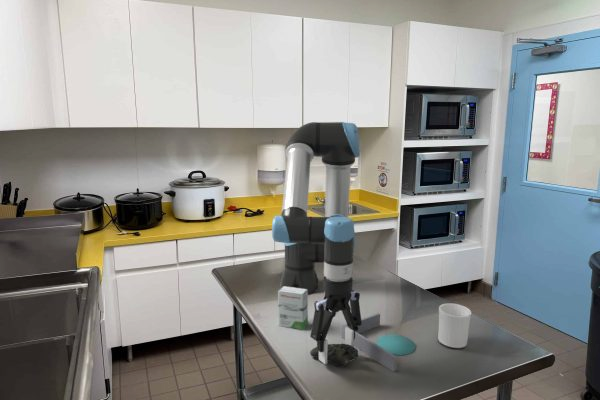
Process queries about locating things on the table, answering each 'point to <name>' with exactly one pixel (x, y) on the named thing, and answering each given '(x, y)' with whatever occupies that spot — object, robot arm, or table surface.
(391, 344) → the teal mat
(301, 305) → the ink box
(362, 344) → the grey angle bracket
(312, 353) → the stone
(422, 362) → the table surface
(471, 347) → the table surface
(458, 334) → the mug
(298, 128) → the robot arm
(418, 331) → the table surface
